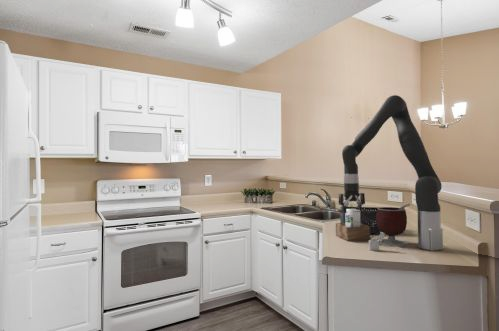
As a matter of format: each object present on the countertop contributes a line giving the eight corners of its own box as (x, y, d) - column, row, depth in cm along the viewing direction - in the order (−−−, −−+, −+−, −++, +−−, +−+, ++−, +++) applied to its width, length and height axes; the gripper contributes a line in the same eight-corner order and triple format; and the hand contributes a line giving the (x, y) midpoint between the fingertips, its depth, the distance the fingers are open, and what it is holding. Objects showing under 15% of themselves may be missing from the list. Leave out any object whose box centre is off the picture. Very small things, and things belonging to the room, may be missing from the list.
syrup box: (345, 235, 168) (344, 208, 168) (354, 234, 170) (353, 208, 170) (351, 237, 163) (351, 210, 163) (361, 237, 164) (360, 209, 165)
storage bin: (387, 228, 193) (387, 206, 193) (396, 234, 174) (396, 211, 174) (339, 227, 197) (339, 206, 198) (343, 233, 178) (343, 210, 179)
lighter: (370, 250, 140) (369, 232, 140) (368, 249, 142) (368, 232, 142) (385, 250, 141) (385, 232, 141) (383, 249, 142) (383, 231, 142)
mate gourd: (372, 243, 153) (371, 203, 153) (381, 238, 163) (381, 200, 164) (406, 248, 143) (405, 205, 143) (414, 243, 153) (413, 202, 154)
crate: (369, 239, 161) (369, 226, 161) (347, 241, 159) (347, 227, 159) (356, 234, 174) (356, 222, 174) (335, 236, 171) (335, 223, 171)
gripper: (342, 183, 162) (343, 214, 161) (367, 182, 164) (368, 213, 164) (335, 182, 169) (336, 212, 169) (359, 181, 172) (360, 211, 171)
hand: (352, 212), depth 166 cm, fingers open, 8 cm apart
